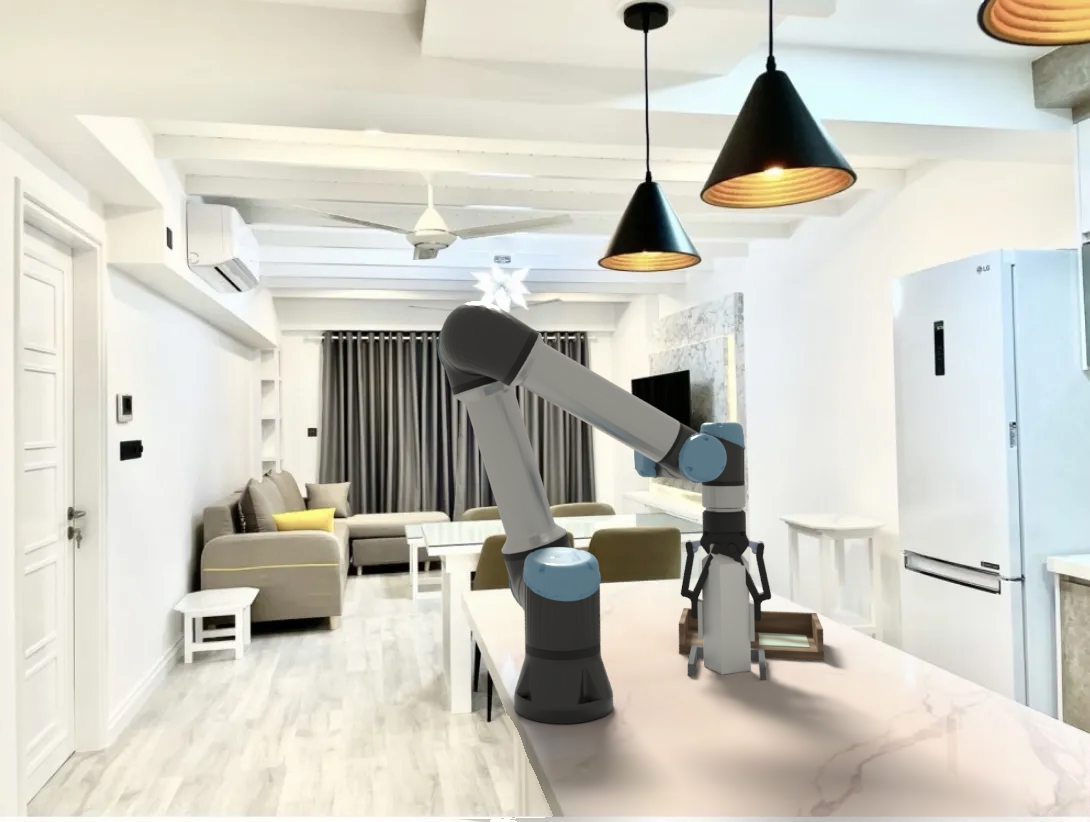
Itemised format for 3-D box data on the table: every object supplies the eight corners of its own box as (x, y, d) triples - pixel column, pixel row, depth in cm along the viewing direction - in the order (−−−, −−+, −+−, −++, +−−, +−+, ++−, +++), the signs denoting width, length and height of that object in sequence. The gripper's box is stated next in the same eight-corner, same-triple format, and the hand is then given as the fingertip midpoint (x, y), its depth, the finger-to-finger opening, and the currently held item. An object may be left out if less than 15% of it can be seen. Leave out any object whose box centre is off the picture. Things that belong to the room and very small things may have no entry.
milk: (703, 666, 143) (699, 542, 144) (732, 662, 145) (728, 539, 146) (722, 675, 137) (718, 546, 138) (752, 671, 139) (748, 543, 140)
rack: (824, 660, 145) (823, 630, 145) (679, 653, 151) (678, 624, 151) (817, 640, 159) (816, 612, 159) (684, 634, 165) (683, 608, 165)
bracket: (766, 679, 134) (765, 667, 134) (687, 675, 137) (687, 663, 137) (764, 659, 146) (764, 648, 146) (691, 656, 149) (691, 645, 149)
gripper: (784, 507, 143) (787, 635, 142) (666, 506, 148) (668, 630, 147) (786, 511, 136) (789, 646, 135) (662, 510, 141) (664, 640, 140)
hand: (726, 638), depth 141 cm, fingers closed on milk, 8 cm apart
